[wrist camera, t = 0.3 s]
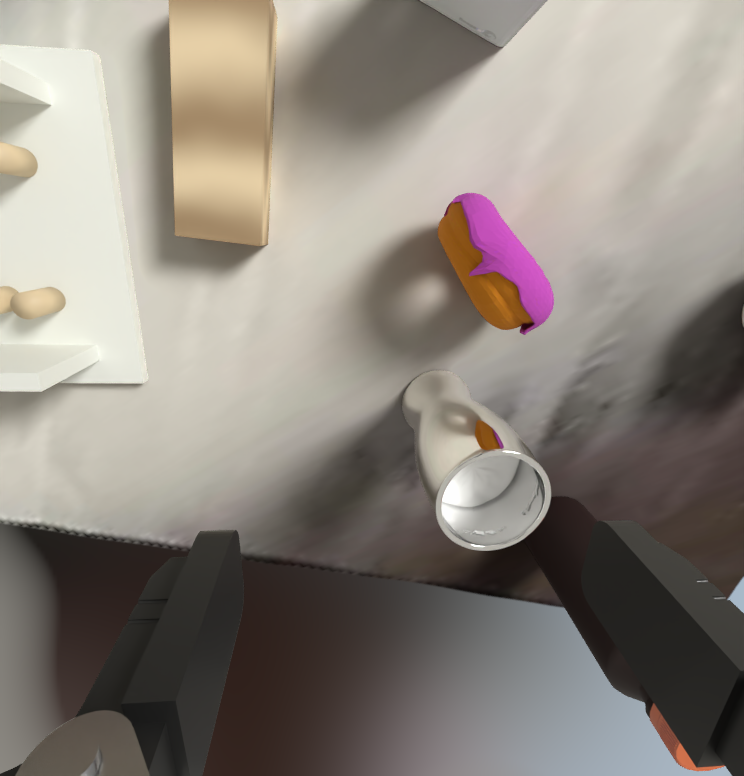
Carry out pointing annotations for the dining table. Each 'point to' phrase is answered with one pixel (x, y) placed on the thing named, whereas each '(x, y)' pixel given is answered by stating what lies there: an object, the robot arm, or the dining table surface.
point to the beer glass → (473, 465)
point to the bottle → (563, 570)
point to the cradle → (62, 228)
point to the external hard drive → (489, 16)
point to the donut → (494, 265)
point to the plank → (222, 117)
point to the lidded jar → (743, 316)
